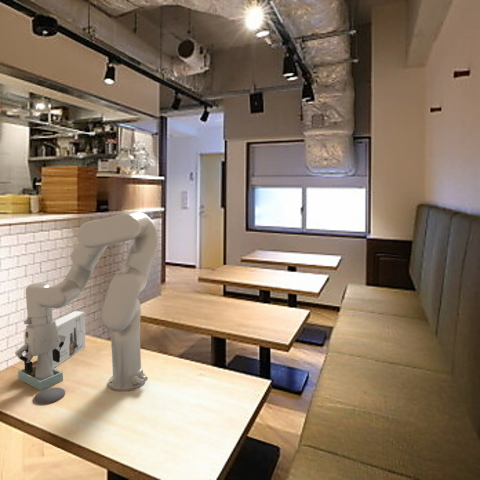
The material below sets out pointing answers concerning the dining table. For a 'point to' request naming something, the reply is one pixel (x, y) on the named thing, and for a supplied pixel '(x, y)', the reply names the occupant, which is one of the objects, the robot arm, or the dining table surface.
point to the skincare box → (70, 336)
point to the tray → (38, 383)
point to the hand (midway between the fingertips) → (43, 366)
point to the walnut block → (33, 369)
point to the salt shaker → (43, 367)
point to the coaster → (49, 395)
